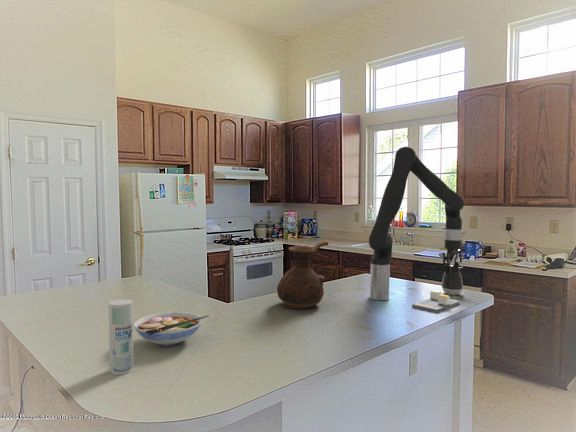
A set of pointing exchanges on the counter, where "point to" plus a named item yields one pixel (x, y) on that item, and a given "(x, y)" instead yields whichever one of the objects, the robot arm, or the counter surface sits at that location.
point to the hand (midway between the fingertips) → (452, 273)
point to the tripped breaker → (443, 299)
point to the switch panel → (434, 305)
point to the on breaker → (434, 294)
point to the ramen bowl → (168, 327)
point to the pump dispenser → (452, 282)
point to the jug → (302, 280)
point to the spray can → (121, 336)
